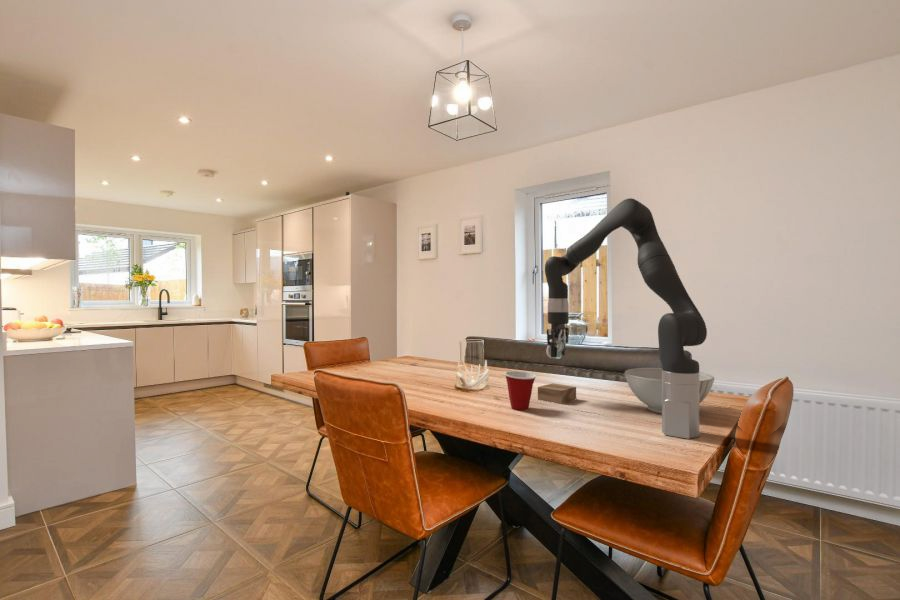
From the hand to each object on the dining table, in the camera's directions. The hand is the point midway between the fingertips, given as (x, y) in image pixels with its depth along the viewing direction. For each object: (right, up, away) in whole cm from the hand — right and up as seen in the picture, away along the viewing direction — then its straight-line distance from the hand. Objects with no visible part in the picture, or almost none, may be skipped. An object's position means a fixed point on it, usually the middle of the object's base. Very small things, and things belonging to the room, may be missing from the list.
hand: (558, 356), depth 167 cm
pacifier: (-1, +2, +2) cm, 3 cm away
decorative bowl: (+33, -16, -16) cm, 40 cm away
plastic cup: (-16, -16, -13) cm, 27 cm away
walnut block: (0, -16, 0) cm, 16 cm away
